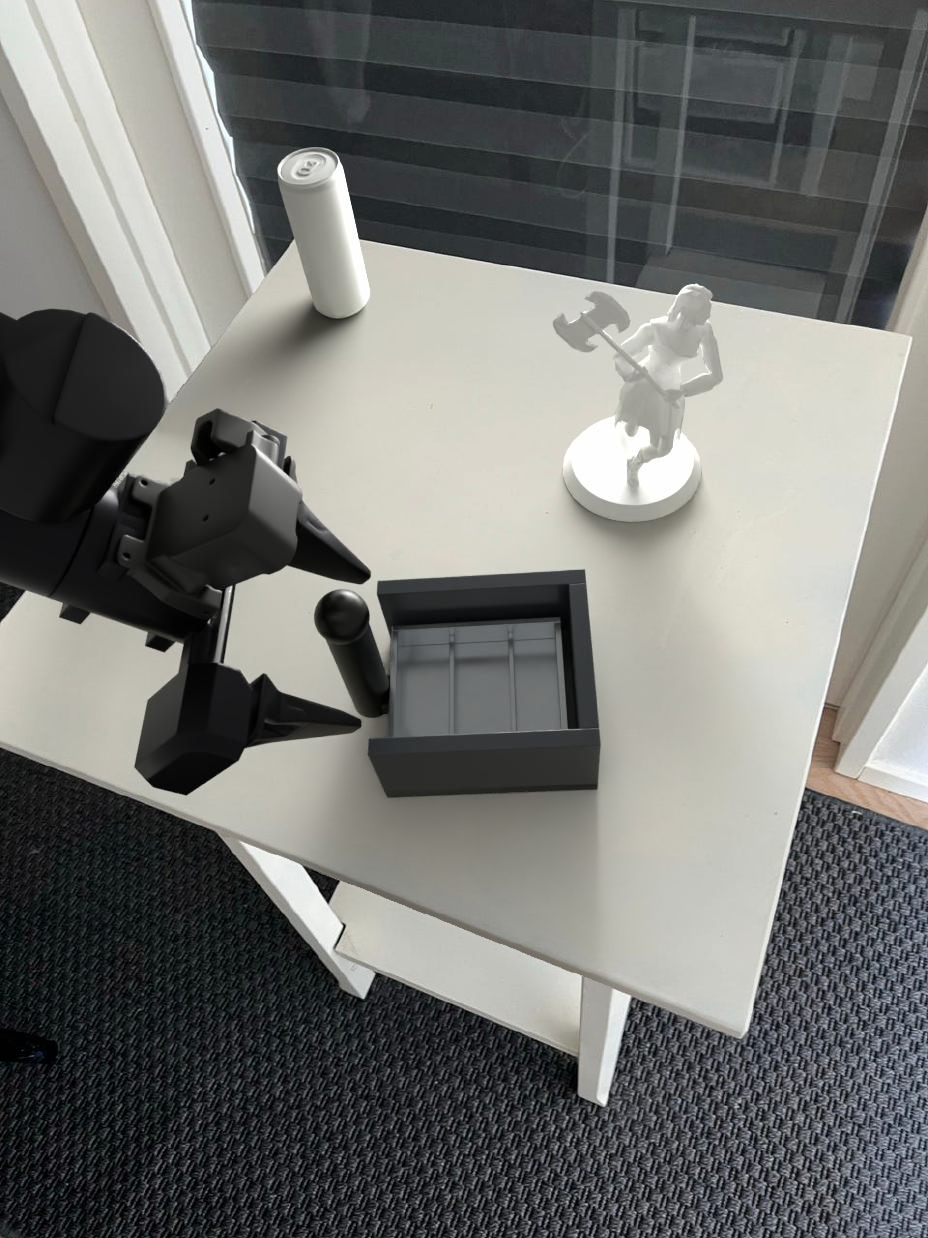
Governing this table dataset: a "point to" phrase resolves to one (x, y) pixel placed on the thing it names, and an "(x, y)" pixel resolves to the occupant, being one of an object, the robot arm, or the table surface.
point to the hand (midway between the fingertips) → (362, 649)
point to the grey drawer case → (503, 755)
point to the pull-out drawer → (449, 671)
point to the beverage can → (324, 230)
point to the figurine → (642, 410)
